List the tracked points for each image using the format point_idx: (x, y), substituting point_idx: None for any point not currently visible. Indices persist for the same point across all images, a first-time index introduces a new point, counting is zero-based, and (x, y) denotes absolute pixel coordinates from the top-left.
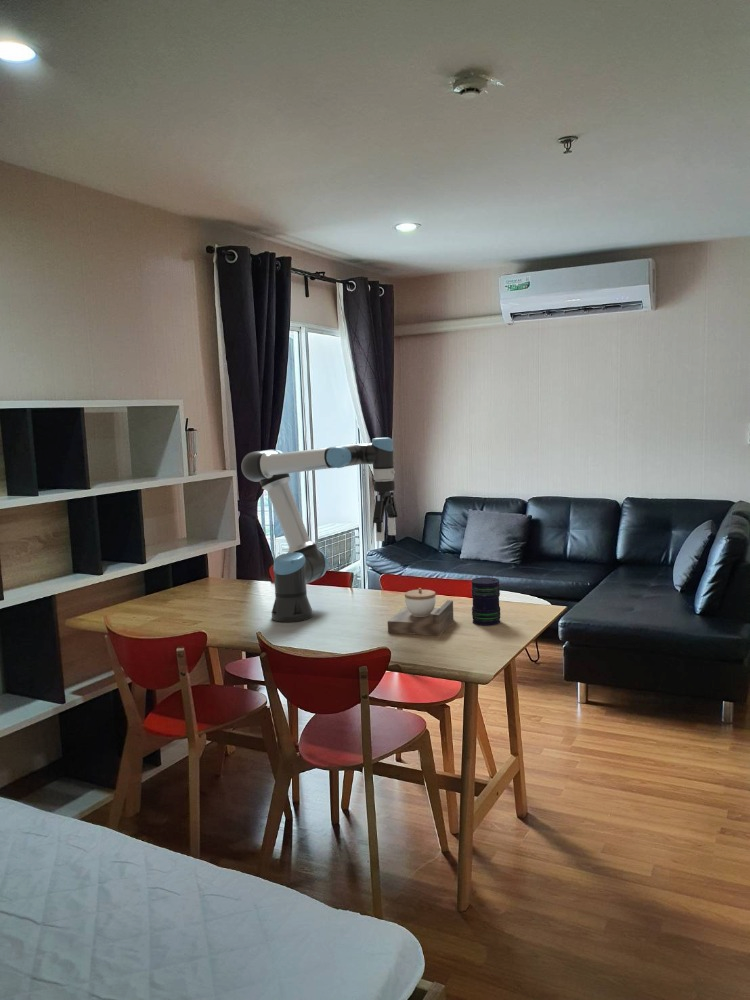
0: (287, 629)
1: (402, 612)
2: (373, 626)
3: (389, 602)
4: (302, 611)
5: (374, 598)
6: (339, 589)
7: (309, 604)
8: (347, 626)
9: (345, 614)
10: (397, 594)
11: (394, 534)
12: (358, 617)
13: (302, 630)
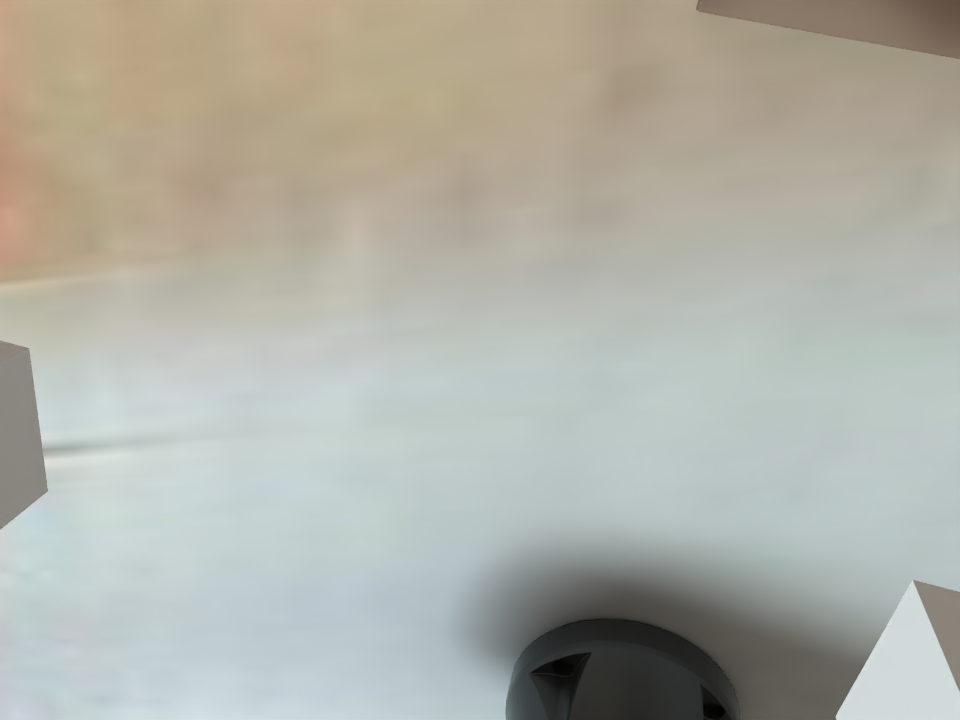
0: None
1: (931, 4)
2: (941, 241)
3: (244, 197)
4: (702, 699)
5: (159, 310)
6: None
7: (616, 686)
8: (898, 418)
9: (573, 451)
10: (23, 164)
11: (20, 372)
12: (657, 368)
13: None
